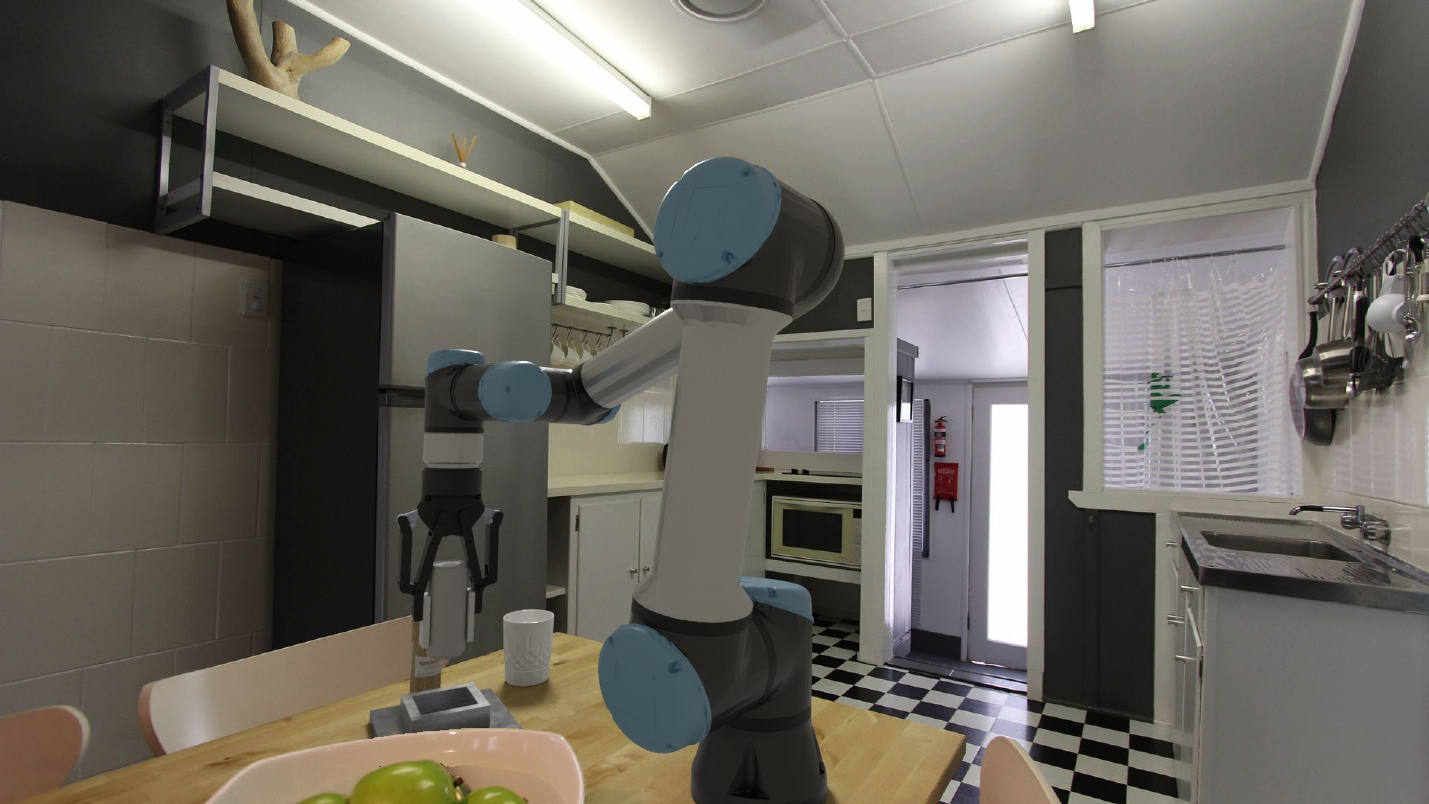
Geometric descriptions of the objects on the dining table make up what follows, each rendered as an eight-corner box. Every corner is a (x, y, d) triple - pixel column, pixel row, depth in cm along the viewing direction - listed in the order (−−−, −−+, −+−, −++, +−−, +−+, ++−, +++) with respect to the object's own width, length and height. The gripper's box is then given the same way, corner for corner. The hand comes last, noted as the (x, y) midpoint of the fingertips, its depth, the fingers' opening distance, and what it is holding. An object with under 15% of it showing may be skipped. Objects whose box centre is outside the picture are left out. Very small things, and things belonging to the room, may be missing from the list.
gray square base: (522, 740, 86) (523, 708, 86) (383, 773, 77) (385, 737, 77) (490, 698, 99) (491, 670, 99) (369, 721, 91) (370, 691, 91)
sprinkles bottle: (425, 703, 97) (428, 609, 98) (401, 698, 99) (404, 606, 99) (448, 692, 101) (451, 602, 102) (424, 687, 103) (428, 599, 104)
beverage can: (417, 656, 88) (421, 564, 88) (447, 646, 92) (451, 558, 93) (443, 663, 86) (446, 568, 86) (473, 652, 90) (476, 562, 90)
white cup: (537, 667, 113) (539, 606, 113) (561, 680, 107) (563, 616, 107) (492, 678, 107) (494, 615, 108) (515, 692, 102) (517, 625, 102)
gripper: (512, 463, 98) (506, 625, 97) (375, 464, 88) (367, 644, 87) (527, 466, 92) (522, 639, 90) (382, 467, 82) (374, 661, 81)
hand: (446, 641), depth 89 cm, fingers closed on beverage can, 5 cm apart
